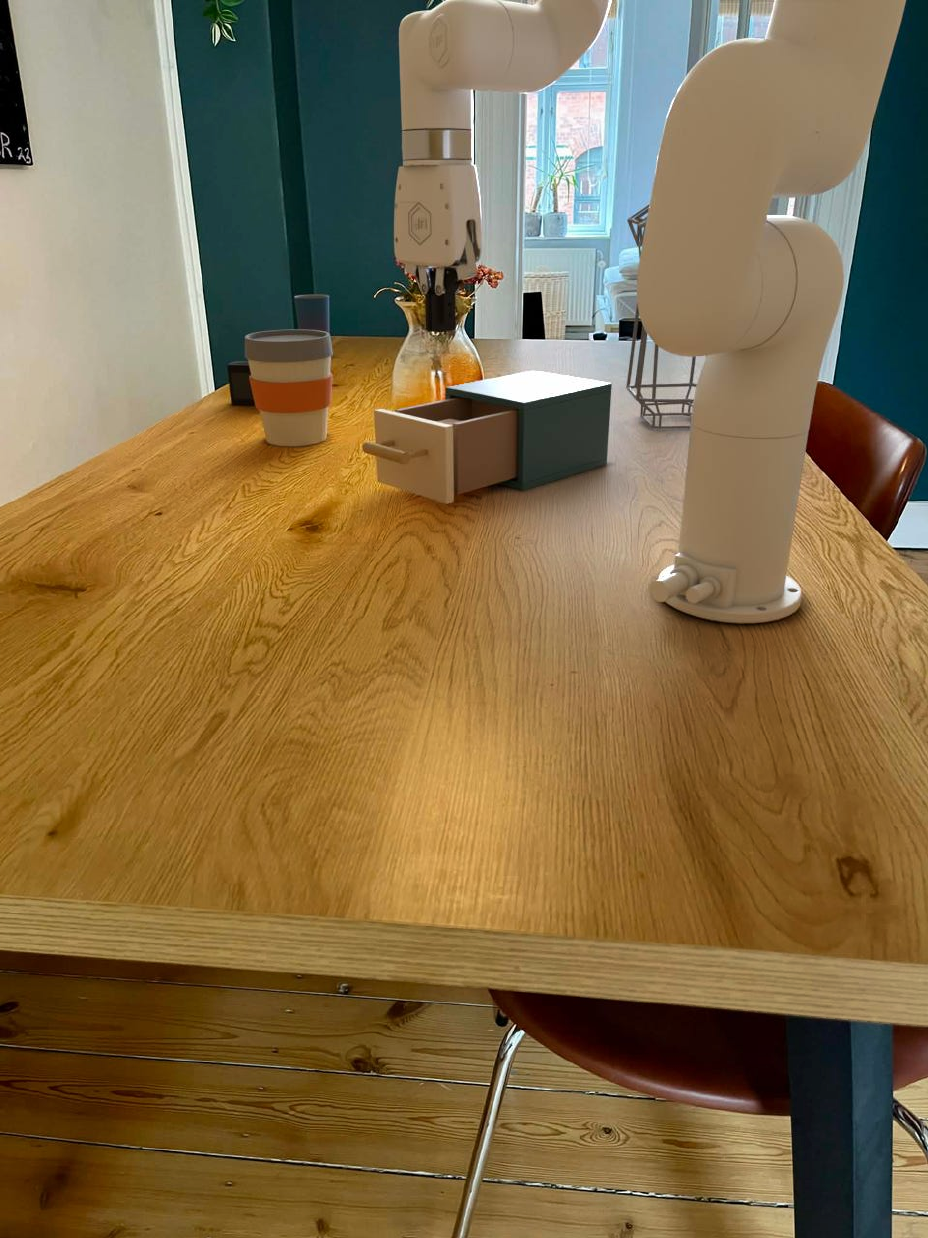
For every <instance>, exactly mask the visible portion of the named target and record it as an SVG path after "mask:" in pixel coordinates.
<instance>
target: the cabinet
mask: <svg viewBox="0 0 928 1238" xmlns="http://www.w3.org/2000/svg"><path fill="white" fill-rule="evenodd" d="M612 386H613V383H611V382H606V381H600V380H594V379H588V378H581V377H575V376H570V375H563V374H557V373H551V372H547V371H541V370H534V369H533V370H528V371H523V372H517V373H513V374H507V375H502V376H501V375H500V376H496V377H491V378H486V379H485V378H484V379H480V380H475V381H474V382H470V383H464V384H459V385H454V386H452V385H449V386H445V388H444V391H445V394H444V397H445V399H444V400H446V399H451V398H456V397H462V398H467V399H472V400H477V401H482V402H487V403H492V404H496V405H501V406H506V407H511V408H516V409H519V434H518V477H516V478H513V479H509V480H506V481H503V482H499V483H497V484H498V485H502V486H506V487H509V488H512V489H514V490H515V489H516V490H519V491H526V490H528V489H532V488H536V487H538V486H542V485H545V484H548V483H551V482H554V481H555V482H556V481H558V480H560V479H564V478H568V477H570V476H574V475H578V474H580V473H584V472H587V471H590V470H594V469H597V468H600V467H602V466H606V465H608V450H609V436H610V435H609V434H610V433H609V432H610V417H611V403H612V402H611V401H612V388H613V387H612Z"/></svg>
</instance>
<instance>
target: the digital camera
mask: <svg viewBox="0 0 928 1238" xmlns="http://www.w3.org/2000/svg"><path fill="white" fill-rule="evenodd" d="M226 369H227V377H228V385H229V387H228V388H229V393H230V394H229V395H230V401H231V403H230V404H231V406H251V407H252V406H255V401H254V397H253V393H252V388H251V384H250V380H249V377H250V376H251V371H250V367H249V362H248V360H234V361H232V362H230V363H228V364H226ZM255 407H256V406H255Z"/></svg>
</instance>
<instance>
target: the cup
mask: <svg viewBox="0 0 928 1238" xmlns="http://www.w3.org/2000/svg"><path fill="white" fill-rule="evenodd" d="M293 299H294V306H295V313H296V321H297V329H298V330H318V331H324V332H328V333H329V334H330V295H328V294H300V295H295V296H293Z"/></svg>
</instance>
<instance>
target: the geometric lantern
mask: <svg viewBox="0 0 928 1238" xmlns="http://www.w3.org/2000/svg"><path fill="white" fill-rule="evenodd" d="M648 210H649V204H647V205H646V206H645V207H643V208H641V209H640V210H639V211H637V212H636V213H635V214H633V215H631V216H630V217H628V218H627V224H628V227H629V229H630V232H631V234H632V236H633V239H634V241H635V244H636V247H638V258H639V260H640V255H641V249H642V243H643V237H644V232H645V226H646V221H647V216H645V215H647V214H648ZM644 216H645V217H644ZM642 217H644V218H642ZM634 224H635V225H636V229H635V227H634ZM639 318H640V315H639V310H638V304H637V303H636V308H635V315H634V324H633V332H632V340H631V347H630V356H629V364H628V371H627V379H626V387H625V389H626V390H627V391H628V392H629V394H630V395H631V396H632V397H633V398H634V400H635V401H637V402H638V403H639V405H640V414H639V415H640V418H641V419H642V420H643V421H644V422H645V423H647V425H649V426H650V427H651V428H652V429H659V430H666V429H667V430H668V429H669V430H670V429H672V430H673V429H690V428H691V425H662V422H663V421H662V419H663V416H667V417H669V416H684V417H690V418H692V412H691V409H692V408H693V401H694V398H689V396H690V394H691V390H692V387H694V388H696V386H697V383H695V382H694V377H695V376H694V375H695V367H696V359H697V358H696V357H697V356H696V357H691V367H690V375H689V382H679V383H678V382H677V383H676V382H675V383H672V382H671V383H657V379H658V378H657V377H658V362H659V361H658V360H659V348H660V347H659V346H658V345H656V344H655V343H654V352H653V353H654V355H653V369H652V371H653V372H652V383H642V381H643V373H644V366H645V357H646V351H647V342H648V334H647V332H646V330H645V329H644V326H643V325H642V327H641V335H640V343H639V351H638V357H637V364H636V365H637V366H636V372H635V373H636V374H635V380H634V381H635V382H634V384H631V380H632V374H633V373H632V372H633V365H634V358H635V350H636V344H637V343H636V342H637V334H638V327H639ZM706 357H707V355H706V356H705V358H706ZM679 387H680V388H681V387H684V388H686V387H688V390H687V391H686V395H685V398H656V397H657V388H679ZM646 388H652V390H651V397H650V398H649V397H643V394H642V391H641V390H642V389H646ZM633 389H635V390H636V392H635V391H634V390H633ZM667 405H671V406H672V405H681V412H661V410H660V407H659V406H667ZM650 406H655V409H656V412H654V410H652V409H651V408H650ZM685 406H688V407H687V412H685ZM647 411H648V413H646V412H647ZM658 416H659V417H658ZM646 417H652V422H651V421H649V420H648V418H646ZM656 417H658V425H656Z"/></svg>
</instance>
